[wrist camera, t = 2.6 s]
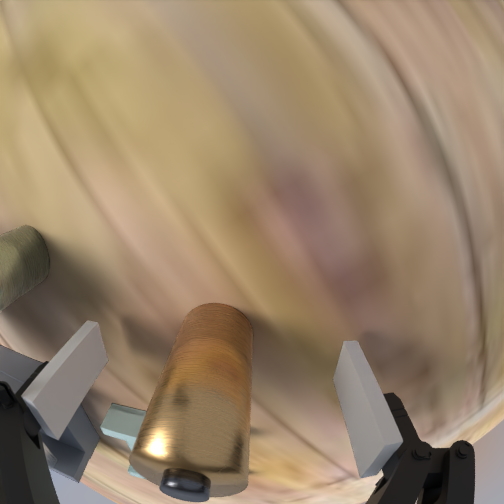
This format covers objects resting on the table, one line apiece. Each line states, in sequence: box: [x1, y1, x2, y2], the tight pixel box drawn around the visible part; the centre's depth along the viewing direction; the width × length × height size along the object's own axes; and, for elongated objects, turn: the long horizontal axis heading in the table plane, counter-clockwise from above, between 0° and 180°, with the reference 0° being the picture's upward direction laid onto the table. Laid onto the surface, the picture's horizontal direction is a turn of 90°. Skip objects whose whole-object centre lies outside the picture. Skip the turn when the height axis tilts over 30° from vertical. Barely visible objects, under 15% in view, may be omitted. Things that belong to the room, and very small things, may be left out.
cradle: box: [0, 345, 100, 483], centre depth 16 cm, size 10×10×6 cm
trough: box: [100, 403, 147, 479], centre depth 18 cm, size 9×10×3 cm
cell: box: [129, 303, 253, 502], centre depth 10 cm, size 4×4×10 cm
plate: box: [43, 443, 58, 470], centre depth 13 cm, size 6×6×2 cm
